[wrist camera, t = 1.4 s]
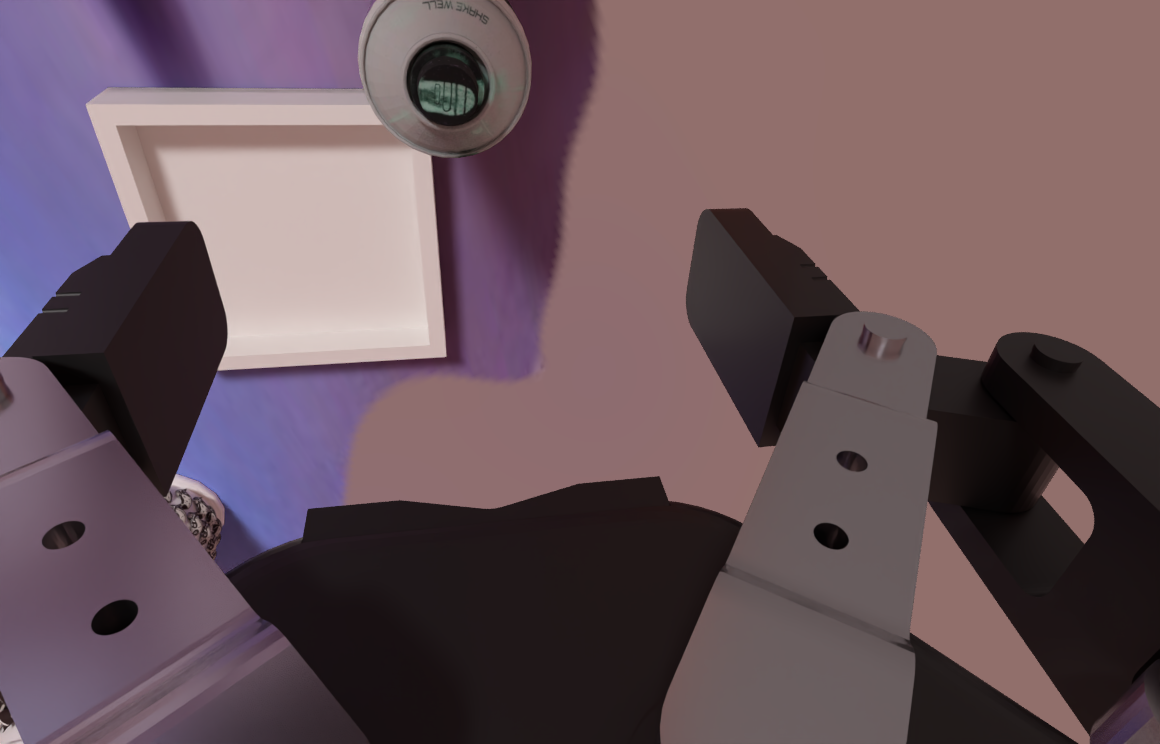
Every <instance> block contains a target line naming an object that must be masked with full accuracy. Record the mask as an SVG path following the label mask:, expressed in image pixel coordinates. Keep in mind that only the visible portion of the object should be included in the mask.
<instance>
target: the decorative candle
mask: <svg viewBox="0 0 1160 744" xmlns="http://www.w3.org/2000/svg"><path fill="white" fill-rule="evenodd" d="M163 498H164V499H165V500H166V501H167V503H168V504H169V505H170V506H171V508H172V509H173V510H174V511H175V513H176V514H177V515H178V516H179V518H180V519H181V520H182V521H183V523H184V524H185V525H186V526H187V528H188V529H189V530H190V531H191V533H192V534H193V535H194V536H195V538H196V539H197V540H198V541H199V543H200V544H201V545H202V547H203V548H204V549H205V550H206V552H207V553H208V554H209V555H210V557H211V558H212V559H213V560H214V559H215V557H216V553H217V552H216V546H217V544H218V543H219V542H220V540H221V534H220V532H221V529H222V526H223V525H224V517H225V507H224V506H223V504H222V503H221V501H220V499H219V498H218V496H217V494H216V493H215V492H213V491H212V490H210V489H209V488H208V487H206V486H205V485H203V484H202V483H201V482H199V481H197V480H194V479H191V478H188V477H185V476H182V475H179V474H176V475H175V477H174V480H173V482H172V485H171V487H170V490H169V492H168V495H167V497H163ZM0 726H1V728H0V744H24V743H23V741H22V739H21V736H20V734H19V732H18V730H17V727H16V725H15V723H14V721H13V718H12V716H11V714H10V712H9V709H8V707H7V705H6V702H5V700H4V698H3V696H2V693H1V691H0Z"/></svg>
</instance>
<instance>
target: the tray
mask: <svg viewBox="0 0 1160 744" xmlns="http://www.w3.org/2000/svg"><path fill="white" fill-rule="evenodd" d="M86 107H87V110H88V113H89V115H90V118H91V121H92V124H93V127H94V129H95V132H96V135H97V138H98V140H99V143H100V146H101V149H102V151H103V154H104V157H105V160H106V162H107V165H108V168H109V171H110V174H111V176H112V179H113V182H114V185H115V187H116V190H117V193H118V196H119V198H120V201H121V204H122V207H123V210H124V212H125V215H126V218H127V221H128V223H129V226H130V229H131V228H132V227H133V226H134V225H135V224H136V223H138V222H170V221H193V222H194V223H195V224H196V225H197V226H198V227H199V229H200V231H201V233H202V236H203V239H204V242H205V245H206V248H207V252H208V255H209V258H210V262H211V265H212V269H213V272H214V275H215V279H216V282H217V286H218V289H219V292H220V296H221V299H222V302H223V306H224V309H225V313H226V318H227V328H228V339H227V346H226V350H225V352H224V355H223V357H222V360H221V362H220V365H219V367H218V370H235V369H252V368H269V367H285V366H302V365H319V364H336V363H353V362H370V361H387V360H404V359H421V358H438V357H446V334H445V320H444V307H443V294H442V281H441V268H440V255H439V242H438V228H437V215H436V202H435V189H434V176H433V163H432V155H427V154H425V153H422V152H420V151H417V150H415V149H412V148H411V147H409V146H408V145H406V144H404V143H403V142H401V141H400V140H398V139H397V138H396V137H395V136H394V135H393V134H391V133H390V132H389V131H388V130H387V129H386V128H385V127H384V125H383V124H382V123H381V122H380V120H379V119H378V118H377V116H376V115H375V114H374V112H373V110H372V108H371V106H370V104H369V102H368V100H367V98H366V95H365V91H364V89H288V88H121V87H108V88H107V89H105V90H104V91H103V92H101V93H100V94H99V95H97V96H96V97H95V98H93V99H92V100H91V101H89V102H88V103H87V104H86ZM218 370H217V371H218Z"/></svg>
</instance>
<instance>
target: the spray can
mask: <svg viewBox="0 0 1160 744" xmlns="http://www.w3.org/2000/svg"><path fill="white" fill-rule="evenodd" d="M358 63H359V72H360V77H361V82H362V85H363V88H364V91H365V95H366V98H367V100H368V102H369V104H370V106H371V108H372V110H373V112H374V114H375V115H376V116H377V118H378V119H379V120H380V122H381V123H382V124H383V125H384V127H385V128H386V129H387V130H388V131H389V132H390V133H391V134H393V135H394V136H395V137H396V138H397V139H398V140H400V141H401V142H403V143H404V144H406V145H408V146H409V147H411V148H412V149H415V150H417V151H420V152H422V153H425V154H427V155H432V156H437V157H442V158H461V157H466V156H471V155H475V154H478V153H480V152H483V151H485V150H488V149H489V148H491V147H492V146H494V145H495V144H497V143H499V142H500V141H501V140H502V139H503V138H504V137H506V136H507V135H508V134H509V133H510V132H511V131H512V129H513V128H514V126H515V125H516V124H517V122H518V121H519V119H520V118H521V116H522V113H523V111H524V109H525V106H526V104H527V101H528V97H529V92H530V87H531V65H532V62H531V56H530V50H529V44H528V41H527V38H526V36H525V33H524V30H523V27H522V25H521V24H520V22H519V20H518V18H517V16H516V15H515V13H514V11H513V9H512V7H511V5H510V4H509V2H508V0H372V1H371V4H370V7H369V10H368V12H367V15H366V18H365V21H364V24H363V28H362V31H361V35H360V38H359V49H358Z"/></svg>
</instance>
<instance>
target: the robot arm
mask: <svg viewBox="0 0 1160 744" xmlns="http://www.w3.org/2000/svg"><path fill="white" fill-rule="evenodd" d="M686 308H687V315H688V319H689V323H690V325H691V327H692V329H693V331H694V332H695V334H696V336H697V338H698V339H699V341H700V343H701V345H702V347H703V349H704V350H705V352H706V354H707V356H708V358H709V359H710V361H711V363H712V365H713V367H714V368H715V370H716V372H717V374H718V375H719V377H720V379H721V381H722V383H723V385H724V386H725V388H726V390H727V392H728V393H729V395H730V397H731V399H732V401H733V402H734V404H735V406H736V408H737V410H738V411H739V413H740V415H741V417H742V418H743V420H744V422H745V424H746V425H747V428H748V429H749V431H750V433H751V435H752V437H753V438H754V440H755V442H756V444H757V446H758V447H765V446H776V447H775V449H774V452H773V454H772V456H771V458H770V461H769V463H768V466H767V468H766V470H765V473H764V475H763V477H762V480H761V482H760V484H759V487H758V489H757V492H756V494H755V496H754V499H753V501H752V503H751V506H750V508H749V510H748V513H747V515H746V517H745V520H744V522H743V523H741V522H739V521H737V520H735V519H732V518H730V517H728V516H725V515H723V514H720V513H718V512H715V511H712V510H708V509H705V508H702V507H699V506H694V505H689V504H684V503H679V502H672V501H668V498H667V496H666V493H665V490H664V488H663V485H662V482H661V480H660V477H659V476H658V477H647V478H637V479H625V480H615V481H604V482H593V483H583V484H576V485H573V486H570V487H566V488H563V489H560V490H557V491H554V492H550V493H547V494H543V495H540V496H537V497H534V498H530V499H527V500H524V501H520V502H517V503H514V504H511V505H507V506H504V507H500V508H496V509H480V508H470V507H460V506H450V505H440V504H430V503H420V502H410V501H400V500H399V501H389V502H378V503H367V504H356V505H346V506H335V507H324V508H313V509H308V511H307V517H306V523H305V528H304V534H303V537H302V538H299V539H296V540H293V541H289V542H287V543H284V544H282V545H279V546H277V547H274V548H272V549H269V550H267V551H265V552H263V553H261V554H259V555H257V556H255V557H253V558H251V559H249V560H247V561H245V562H244V563H242V564H240V565H239V566H237V567H235V568H234V569H232V570H230V571H229V572H227V573H226V574H224V573H223V572H222V570H221V569H220V568H219V567H218V565H217V564H216V563H215V562H214V560H213V559H212V558H211V557H210V555H209V554H208V553H207V552H206V550H205V549H204V548H203V547H202V545H201V544H200V543H199V541H198V540H197V539H196V538H195V536H194V535H193V534H192V533H191V531H190V530H189V529H188V528H187V526H186V525H185V524H184V523H183V521H182V520H181V519H180V518H179V516H178V515H177V514H176V513H175V511H174V510H173V509H172V508H171V506H170V505H169V504H168V503H167V501H166V500H165V499H164V498H163V497H167V495H168V492H169V490H170V487H171V485H172V482H173V480H174V477H175V475H176V472H177V470H178V467H179V465H180V462H181V460H182V457H183V455H184V452H185V450H186V447H187V445H188V442H189V440H190V437H191V435H192V432H193V430H194V427H195V425H196V422H197V420H198V417H199V415H200V412H201V410H202V407H203V405H204V402H205V400H206V397H207V395H208V392H209V390H210V387H211V385H212V382H213V380H214V377H215V375H216V372H217V370H218V367H219V365H220V362H221V360H222V357H223V355H224V352H225V350H226V346H227V339H228V328H227V318H226V313H225V309H224V306H223V302H222V299H221V296H220V292H219V289H218V286H217V282H216V279H215V275H214V272H213V269H212V265H211V262H210V258H209V255H208V252H207V248H206V245H205V242H204V239H203V236H202V233H201V231H200V229H199V227H198V226H197V225H196V224H195V223H194V222H193V221H170V222H138V223H136V224H135V225H134V226H133V227H132V228H131V229H130V231H129V232H128V233H127V235H126V236H125V237H124V238H123V240H122V241H121V242H120V244H119V245H118V246H117V247H116V249H115V250H114V251H113V253H112V254H111V255H106V256H101V257H99V258H97V259H95V260H94V261H92V262H90V263H89V264H87V265H85V266H84V267H82V268H80V269H78V270H77V271H75V272H73V273H72V274H71V275H70V276H69V278H68V279H67V280H66V281H65V282H64V284H63V285H62V286H61V287H60V288H59V290H58V291H57V292H56V297H52V298H51V299H50V300H49V302H48V303H47V304H46V305H45V306H44V308H43V309H42V311H43V313H40V314H38V315H37V316H36V317H35V318H34V319H33V321H32V322H31V323H30V324H29V325H28V327H27V328H26V329H25V330H24V331H23V333H22V334H21V335H20V336H19V337H18V339H17V340H16V341H15V342H14V343H13V345H12V346H11V347H10V348H9V349H8V351H7V352H6V353H5V354H4V355H3V357H0V691H1V693H2V696H3V698H4V700H5V702H6V705H7V707H8V709H9V712H10V714H11V716H12V718H13V721H14V723H15V725H16V727H17V730H18V732H19V734H20V736H21V739H22V741H23V743H24V744H1078V743H1077V742H1075V741H1074V740H1072V739H1071V738H1069V737H1067V736H1066V735H1065V734H1063V733H1061V732H1060V731H1058V730H1057V729H1055V728H1054V727H1052V726H1051V725H1049V724H1048V723H1046V722H1045V721H1043V720H1042V719H1040V718H1039V717H1037V716H1036V715H1034V714H1033V713H1031V712H1030V711H1028V710H1027V709H1025V708H1024V707H1022V706H1020V705H1019V704H1018V703H1016V702H1015V701H1013V700H1012V699H1010V698H1008V697H1007V696H1005V695H1004V694H1002V693H1001V692H999V691H998V690H996V689H995V688H993V687H992V686H990V685H989V684H987V683H986V682H984V681H983V680H981V679H980V678H978V677H977V676H975V675H974V674H972V673H970V672H969V671H968V670H966V669H965V668H963V667H962V666H960V665H959V664H957V663H955V662H954V661H952V660H951V659H949V658H948V657H946V656H945V655H943V654H942V653H940V652H939V651H937V650H936V649H934V648H933V647H931V646H930V645H928V644H927V643H925V642H923V641H922V640H921V639H919V638H918V637H916V636H915V635H913V634H912V633H910V625H911V617H912V610H913V603H914V596H915V588H916V581H917V574H918V567H919V566H918V565H919V559H920V552H921V545H922V538H923V530H924V523H925V516H926V508H927V501H928V502H929V504H930V505H931V507H932V508H933V510H934V511H935V513H936V514H937V516H938V517H939V518H940V520H941V522H942V523H943V524H944V526H945V527H946V529H947V530H948V532H949V533H950V535H951V536H952V537H953V539H954V540H955V542H956V543H957V545H958V546H959V548H960V549H961V550H962V552H963V553H964V555H965V556H966V558H967V559H968V561H969V562H970V564H971V565H972V566H973V568H974V569H975V571H976V572H977V574H978V575H979V577H980V578H981V579H982V581H983V582H984V584H985V585H986V587H987V588H988V590H989V591H990V592H991V594H992V595H993V597H994V598H995V600H996V601H997V603H998V604H999V606H1000V607H1001V608H1002V610H1003V611H1004V613H1005V614H1006V616H1007V617H1008V619H1009V620H1010V621H1011V623H1012V624H1013V626H1014V627H1015V628H1016V630H1017V632H1018V633H1019V634H1020V636H1021V637H1022V639H1023V640H1024V642H1025V643H1026V645H1027V646H1028V648H1029V649H1030V650H1031V652H1032V653H1033V655H1034V656H1035V658H1036V659H1037V661H1038V662H1039V663H1040V665H1041V666H1042V668H1043V669H1044V670H1045V672H1046V674H1047V675H1048V676H1049V678H1050V679H1051V681H1052V682H1053V684H1054V685H1055V687H1056V688H1057V689H1058V691H1059V692H1060V694H1061V695H1062V697H1063V698H1064V700H1065V701H1066V703H1067V704H1068V705H1069V707H1070V708H1071V710H1072V711H1073V712H1074V714H1075V715H1076V717H1077V718H1078V720H1079V721H1080V723H1081V724H1082V726H1083V727H1084V728H1085V730H1086V731H1087V733H1088V734H1089V736H1090V744H1160V408H1159V407H1158V406H1156V405H1155V404H1154V403H1153V402H1152V401H1150V400H1149V399H1148V398H1147V397H1146V396H1144V395H1143V394H1142V393H1141V392H1139V391H1138V390H1137V389H1136V388H1135V387H1133V386H1132V385H1131V384H1130V383H1128V382H1127V381H1126V380H1124V379H1123V378H1122V377H1121V376H1120V375H1119V374H1117V373H1116V372H1115V371H1114V370H1112V369H1111V368H1110V367H1109V366H1107V365H1106V364H1105V363H1104V362H1103V361H1101V360H1100V359H1098V358H1097V357H1096V356H1095V355H1093V354H1092V353H1090V352H1088V351H1087V350H1085V349H1083V348H1081V347H1079V346H1077V345H1075V344H1072V343H1070V342H1068V341H1064V340H1062V339H1059V338H1056V337H1052V336H1048V335H1043V334H1038V333H1029V332H1028V333H1027V332H1019V333H1011V334H1007V335H1005V336H1002V337H1001V338H1000V339H999V340H998V342H997V344H996V346H995V348H994V350H993V352H992V354H991V356H990V358H989V360H988V362H983V361H975V360H968V359H961V358H953V357H946V356H939V355H937V348H936V345H935V343H934V342H933V340H932V339H931V338H930V337H929V336H928V335H927V334H926V333H925V332H923V331H922V330H921V329H920V328H918V327H916V326H915V325H913V324H911V323H909V322H907V321H904V320H902V319H899V318H897V317H893V316H890V315H886V314H882V313H876V312H865V311H863V312H862V311H861V312H860V311H859V310H858V309H857V308H856V307H855V306H854V305H853V303H852V302H851V301H850V300H849V299H848V298H847V297H846V296H845V295H844V294H843V293H842V292H841V291H840V290H839V289H838V288H837V287H836V285H835V284H834V283H833V282H832V281H831V280H827V276H826V275H825V274H824V273H823V272H822V271H821V270H820V268H819V267H815V263H814V262H813V261H812V260H811V259H810V258H809V257H808V256H807V255H806V254H805V252H804V251H803V250H802V249H801V248H799V247H797V246H795V245H794V244H792V243H790V242H788V241H786V240H785V239H782V238H781V237H779V236H777V235H772V234H771V232H770V231H769V230H768V229H767V228H766V227H765V226H764V225H763V224H762V223H761V221H760V220H759V219H758V218H757V217H756V216H755V215H754V214H753V212H752V211H750V210H749V209H746V208H742V209H741V208H739V209H706V210H704V211H703V212H702V214H701V215H700V218H699V221H698V225H697V231H696V238H695V244H694V250H693V256H692V261H691V267H690V273H689V280H688V286H687V294H686ZM1059 467H1060V468H1061V469H1062V470H1063V471H1064V472H1065V473H1066V474H1067V476H1068V477H1069V478H1070V479H1071V480H1072V481H1073V482H1074V483H1075V484H1076V485H1077V486H1078V487H1079V488H1080V489H1081V490H1082V491H1083V493H1084V494H1085V495H1086V496H1087V498H1088V500H1089V501H1090V504H1091V506H1092V509H1093V512H1094V529H1093V532H1092V534H1091V536H1090V538H1089V539H1088V540H1087V542H1086V543H1085V544H1084V543H1083V542H1082V541H1081V540H1080V539H1079V538H1078V536H1077V535H1076V534H1075V533H1074V532H1073V531H1072V530H1071V529H1070V527H1069V526H1068V525H1067V524H1066V523H1065V522H1064V520H1063V519H1062V518H1061V517H1060V516H1059V515H1058V514H1057V512H1056V511H1055V510H1054V509H1053V508H1052V507H1051V506H1050V504H1049V503H1048V502H1047V501H1046V500H1045V499H1044V498H1043V496H1042V493H1043V492H1044V490H1045V488H1046V487H1047V485H1048V484H1049V482H1050V481H1051V479H1052V478H1053V476H1054V474H1055V473H1056V471H1057V470H1058V468H1059Z"/></svg>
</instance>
